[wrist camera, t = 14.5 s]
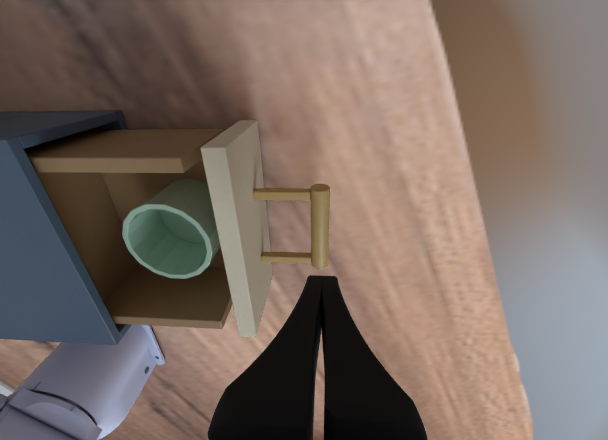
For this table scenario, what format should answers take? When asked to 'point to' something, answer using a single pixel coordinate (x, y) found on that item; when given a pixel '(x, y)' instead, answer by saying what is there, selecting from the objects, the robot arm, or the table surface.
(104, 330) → the cabinet
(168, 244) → the cup
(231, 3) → the table surface
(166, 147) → the drawer
